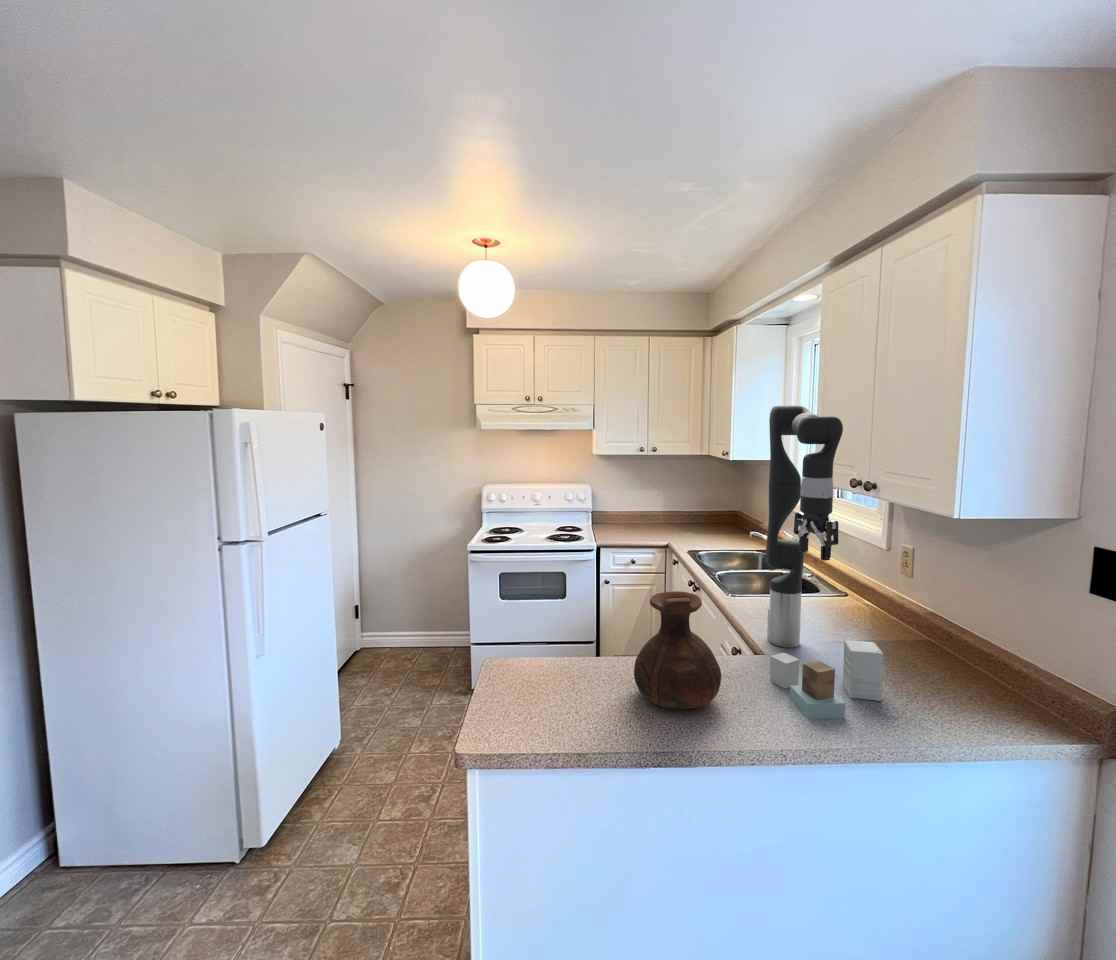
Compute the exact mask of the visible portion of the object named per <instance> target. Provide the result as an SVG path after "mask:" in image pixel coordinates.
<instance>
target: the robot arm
mask: <svg viewBox="0 0 1116 960" xmlns="http://www.w3.org/2000/svg"><path fill="white" fill-rule="evenodd" d="M768 427H769V449H770V450H769V452H770V453H769V454H770V458H769V460H770V462H769V475H768V476H769V477H768V522H767V523H768V525H767V526H768V527H767V535H766V548H765V549H766V551H765V560H766V565H767V567H769V568H771V569H780V570H781V569H782V570H790V571H789V572H787V573H786V574H784V575H779V576H775V577H773V578H771V579H770V582H769V608H768V610H767V629H766V630H767V634H766V636H767V639H768V642H769V643H770V644H772V645H774V646H777V647H782V648H796V647H799V646H800V643H801V642H800V641H801V619H802V617H801V615H802V593H803V592H802V590H803V589H802V585H803V584H802V583H803V582H802V581H803V580H802V579H803V567H804V558H805V557H804V556H805V553H807V552H809V537H810V536H811V534H813V535H815V536H816V538H817V539H819V541H820V544H821V545H820V560H821V561H830V560H831V557H832V547H833V546H837V545H839V522H838V520H830V518H829V516H830V514H832V513H833V505H834V503H833V501H834V480H833V477H834V475H833V474H834V462H835V456H836V452H837V449H838V447H839V443H840V442H841V439H842V436H843V433H844V426H843V423H842V421H841V419H840V418H839V417H837V416H835V415H832V416H831V415H827V416H819V415H817V414H814V413H812V412H811V411H810V410H809V409H808V408H807V407H805V406H803V405H774V406H772V408H771V410H770V412H769V426H768ZM783 436H796V438H797V441H798V442H799V443H800V444H804V445H824V446H823V447H822V448H821V449H820V450H819V451H817V452H812V453H808V454H804V456H803V459H802V475H800V472H799V471H798V468H796V466H795V464H794V463H793V462H792V460H791V459H790V457H789V455H788V454H787V451H786V450H785V447H784V443H783V438H782V437H783ZM801 476H802V477H801ZM799 503H800V504H799ZM798 504H799V512H794V523H793V534H794V535H797V537H798V539H799V540H797V539H796V540H795V539H783V538H782V539H779V538H778V537H779V534H780V531H781V528H782V527H783V525H784V523H785V522H786V520H787V519H788V517H789V516H791V514H792V512H793V511H794V509H796V507H797V505H798ZM832 537H833V539H832Z"/></svg>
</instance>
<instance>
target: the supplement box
mask: <svg viewBox="0 0 1116 960" xmlns="http://www.w3.org/2000/svg"><path fill="white" fill-rule="evenodd" d="M842 664H843V665H842V667H843V669H842V686H843V688H844V689H845V691H846V693H847V695H848V696H849V698H850V699H860V700H869V701H875V702H876V701H879V702H881V701H882V689H883V668H884V652H882V650H881V649H880V648H879V647H878V645H877V644H876V643H875V642H874V641H861V640H860V641H859V640H849V639H844V641H843V663H842Z"/></svg>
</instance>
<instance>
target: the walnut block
mask: <svg viewBox="0 0 1116 960" xmlns="http://www.w3.org/2000/svg"><path fill="white" fill-rule="evenodd" d="M835 678H836V669H835V668H833V667H832V666H830V665H828V664H827V663H825V662H823V661H821V660H814V661H810V662H809V661H808V662H803V663H802V678H801V679H802V680H801V685H802V691H804V692H805V693H807V694H808V695H810V696H811V697H813V698H815V699H816V700H821V699H826V698H831V697H834V693H835Z"/></svg>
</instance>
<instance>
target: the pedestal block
mask: <svg viewBox="0 0 1116 960" xmlns="http://www.w3.org/2000/svg"><path fill="white" fill-rule="evenodd" d="M789 700H790V701H791V703H792V704H793V705H795V707H796V708H797V709H798V710H799V712H800V713H801V714H802V715H803V716H804V717H805V718H806V719H840V718H841V719H842V718H843V719H845V718H844V717H845V716H846V702H845V701H844V700H843V699H841V698H840V697H839V696H838V695H837V694H836V693H835V692H834V697H831V698H826V699H821V700H816V699H815V698H813V697H811V696H810V695H808V694H807V693H805V692H804V691H802V684H799V685H790V688H789Z"/></svg>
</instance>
